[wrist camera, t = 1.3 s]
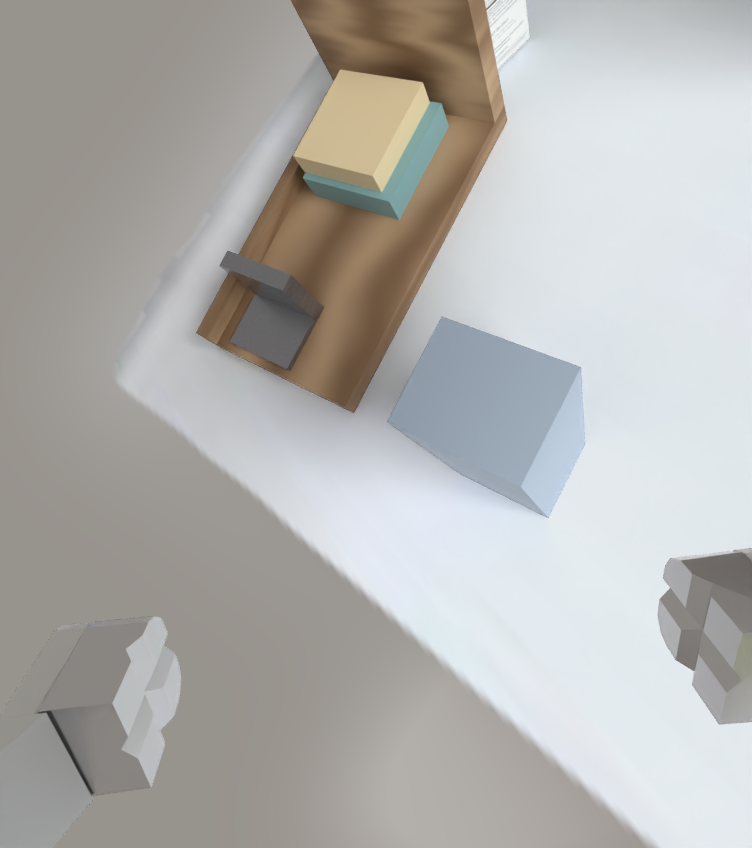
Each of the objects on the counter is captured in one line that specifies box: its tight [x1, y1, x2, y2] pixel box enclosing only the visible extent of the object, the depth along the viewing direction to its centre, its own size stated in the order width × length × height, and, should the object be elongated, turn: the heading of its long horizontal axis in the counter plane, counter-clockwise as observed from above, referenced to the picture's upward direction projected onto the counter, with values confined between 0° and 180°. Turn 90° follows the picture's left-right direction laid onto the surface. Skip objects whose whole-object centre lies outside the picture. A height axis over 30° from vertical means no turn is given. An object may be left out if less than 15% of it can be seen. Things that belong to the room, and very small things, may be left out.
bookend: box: [220, 251, 324, 371], centre depth 39 cm, size 6×5×5 cm
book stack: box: [293, 70, 449, 220], centre depth 40 cm, size 8×8×4 cm
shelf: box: [196, 0, 507, 413], centre depth 37 cm, size 14×24×14 cm, turn 151°
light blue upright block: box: [387, 317, 585, 518], centre depth 28 cm, size 5×6×14 cm
